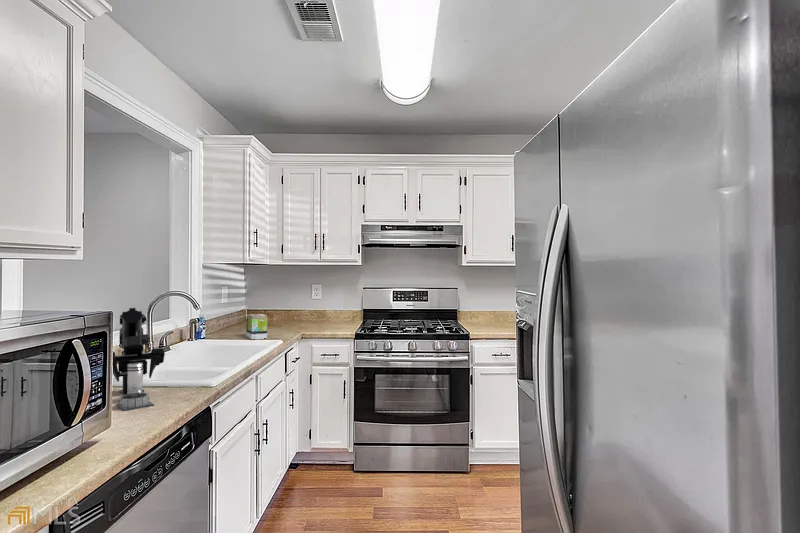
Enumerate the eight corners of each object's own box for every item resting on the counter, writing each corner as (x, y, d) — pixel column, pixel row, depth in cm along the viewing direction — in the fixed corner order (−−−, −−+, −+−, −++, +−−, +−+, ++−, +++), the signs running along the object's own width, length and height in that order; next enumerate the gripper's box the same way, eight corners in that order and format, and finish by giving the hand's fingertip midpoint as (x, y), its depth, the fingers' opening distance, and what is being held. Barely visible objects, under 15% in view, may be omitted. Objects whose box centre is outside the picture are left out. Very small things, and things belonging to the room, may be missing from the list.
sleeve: (116, 405, 156) (116, 395, 156) (145, 400, 162) (145, 391, 162) (124, 411, 150) (124, 401, 150) (153, 405, 156) (153, 396, 156)
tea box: (267, 338, 300) (267, 315, 300) (251, 340, 295) (251, 316, 295) (261, 335, 313) (261, 313, 313) (245, 336, 308) (245, 313, 308)
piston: (127, 402, 157) (127, 362, 157) (144, 401, 159) (144, 361, 159) (125, 406, 152) (125, 365, 152) (143, 404, 154) (143, 364, 154)
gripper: (101, 328, 157) (101, 368, 148) (164, 324, 167) (168, 362, 158) (100, 348, 164) (101, 388, 155) (161, 344, 174) (165, 380, 165)
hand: (134, 379), depth 158 cm, fingers open, 9 cm apart
